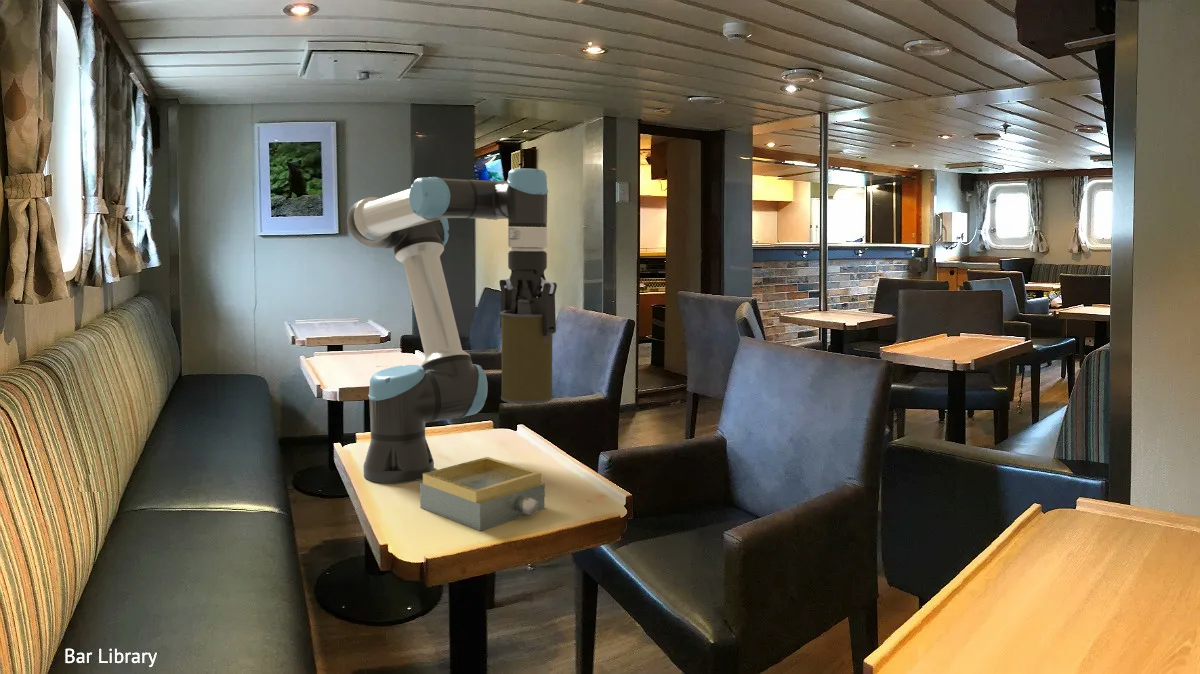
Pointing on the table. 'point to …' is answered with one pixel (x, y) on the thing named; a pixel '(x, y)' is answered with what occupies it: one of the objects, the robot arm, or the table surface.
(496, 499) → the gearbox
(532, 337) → the canister
